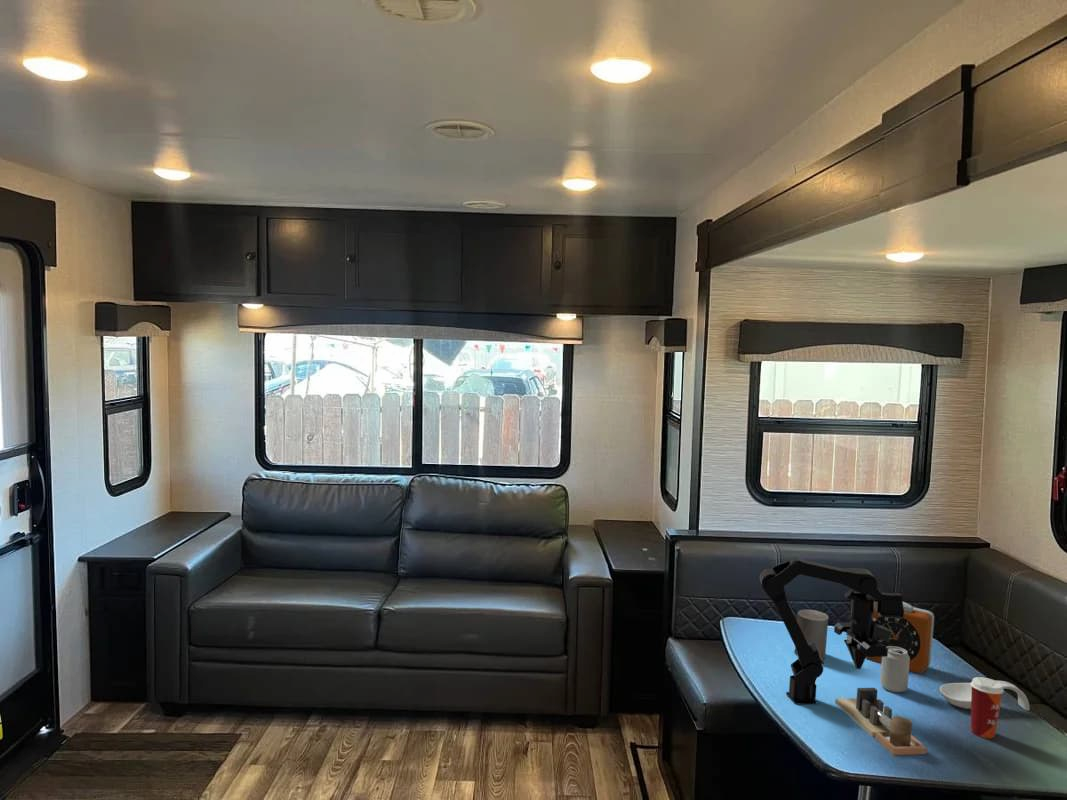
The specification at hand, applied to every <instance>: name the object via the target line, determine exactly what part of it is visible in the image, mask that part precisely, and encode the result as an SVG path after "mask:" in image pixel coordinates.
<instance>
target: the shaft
mask: <svg viewBox="0 0 1067 800" xmlns="http://www.w3.org/2000/svg"><path fill="white" fill-rule="evenodd" d="M856 698H857V700H856V709H857V710H859V711H862V700H867V701H868V702H869V703H870V707H875V708H876V709H877V710H878V717H877V720H878V721H879V722H881V723H882V724H883V725H884V726H885V727H886V728H887V729H889V730H890V731H891V721H892V720H891V719H890V718H889V717H887V716H886V715H885V714H884V713H883V712H882V711H880V710H879V709H878V708H877V707H876V699H878V689H877V688H876V687H857V689H856ZM869 713H870V708H869Z"/></svg>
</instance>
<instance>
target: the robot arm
mask: <svg viewBox="0 0 1067 800" xmlns="http://www.w3.org/2000/svg"><path fill="white" fill-rule="evenodd" d="M799 575H802V576H806V577H811V578H815V579H820V580H824V581H827V582H833V583H836V584H841V585H843V586H845V587H848V588H849V590H848V591H846V592H845V593H844V596H845V598H846V599H847V600H851V608H850V609H851V610H850V614H848V615H847V620H848V621H849V622H837V623H836V624H834V627H833V628H834V629H833V630H834V631H833V632H834V633H835V634H837V635H838V636H841V635H842V634H843V633H845V635H846V639H844V640H843V642H844V643H845V645H846V648H847V650H848V652H849V654H850V657H851V659H852V661H853V664H854V667H855V669H857V670H861V669H862V667H863V666H864V662H865V660H866V659H867V658H866V657H867V656H868V657H887V656H888V648H887V647H886V646H885V645H883V644H882V643H880V642H879V641H872V640H877V638H880V639H882V640H885V641H886V642H889V640H890V637H891V635H892V633H893V632H892V631H890V630H889V629H887V628H886V627H884V626H882V625H881V622H880V621H879V620H877V619H875V618H873V608H874V609H875V612H876V613H878V614H879V616H880V617H887V618H898V619H902V618H903V615H904V608H903V602H904V601H903V595H902V594H901V593H898V592H895V593H890V592H889V593H888V592H882V591H881V590H880V588H878V581H877V579H876V577H875V576H874V575H873V574H872V572H871V571H870V570H868V569H867V568H861V567H846V568H843V567H839V566H838V567H837V566H835V565H834V566H832V565H828V564H824V563H820V562H815V561H811V560H807V559H802V558H800V557H796V556H795V557H792V558H790V559H788V560H787V561H784V562H782V563H779V564H777V565H774V566H773V567H772V568H770V567H769V568H765V569H763V570H762V571H761V572H760V574H759V580H760V584H761V587H762V589H763V591H764V593H765V594H766V595H767V596H768V597H769V599H770V600H771V602H772V603H773V605H774V606H775V607H776V609H777V611H778V614H779V615H780V617H781V619H782V622H783V624H784V626H785V628H786V629H787V632H788V634H789V637H790V639H791V641H792V642H793V644H794V648H796V652H797V655H796V656H797V658H798V659H796V660H795V661H794V662H791V664H790V668H791V671H792V673H793V675H790V676H789V688H788V691H786V692H785V695H786V696H787V697H788V698H789V699H790V700H791V701H792V702H793V703H794V704H796V705H810V704H811V705H812V704H814V705H815V704H817V703H818V701H817V700H816V698H817V684H816V681H817V679H818V678H819V677H821V676H822V674H823V672H824V666H823V665H825V662H824V659H823V660H822V657H821V655H820V654H819V652H818V650H817V647H816V645H815V643H813V644H811V645H810V644H809V643H808V642H807V640H806V638H805V636H804V634H803V632H802V630H801V628H800V626H799V624H798V622H797V618H796V615H795V614H794V612H793V610H792V608H791V604H790V603H789V602H788V601H789V600H788V599H787V594H786V590H785V586H787V585H788V584H789V583H790V582H792V581H793V580H794V579H795V578H797V577H798V576H799ZM874 601H875V603H874ZM902 601H903V602H902ZM870 639H872V640H870Z"/></svg>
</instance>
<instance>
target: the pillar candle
mask: <svg viewBox="0 0 1067 800" xmlns="http://www.w3.org/2000/svg"><path fill="white" fill-rule="evenodd" d="M796 617H797V618H796V620H797V622H798V624H799V626H800V628H801V630H802V632H803V634H804V636H805V638H806V640H807V642H808V643H809V644H810V645H811V644H813V643H815V645H816V647H817V650H818V652H819V654H820V655H821V657H822V660H823V661H824V659H825V658H826V651H827V642H828V641H827V638H828V627H829V626H828V625H829V619H830V618H829V615H828V614H827V613H824V612H822V611H819V610H816V609H814V610H813V609H801V610H799V611H797V616H796ZM794 648H795V647H794ZM793 652H794V654H795V655H796V656H797V652H796V648H795V649H794V651H793Z"/></svg>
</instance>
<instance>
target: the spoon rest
mask: <svg viewBox="0 0 1067 800" xmlns="http://www.w3.org/2000/svg"><path fill="white" fill-rule="evenodd" d="M996 681H997V682H999V683H1000V684H1001V685H1002V688H1003V690H1005V689H1007V690H1012V691H1014V692H1015V693H1016V694H1017V704H1018V706H1020V708H1022V709H1023V710H1025V711H1027V712H1029V711H1030V703H1029V700H1028V698H1027V696H1026V694H1025V693H1024V692H1023V691H1022V690H1021V689H1020V688H1019V687H1017V686H1016V685H1015V684H1013V683H1010V682H1009V681H1004V680H996ZM970 683H971V682H950V683H949V682H948V683H946V684H942V685H941V686H940V688H939V692H940V694H941V696H942V697H943V698H944V699H945V700H946V701H947V702H948V703H949V704H951V705H952V706H956V707H957V708H961V709H963V710H965V709H966V710H971V695H972V686H971V684H970Z"/></svg>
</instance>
